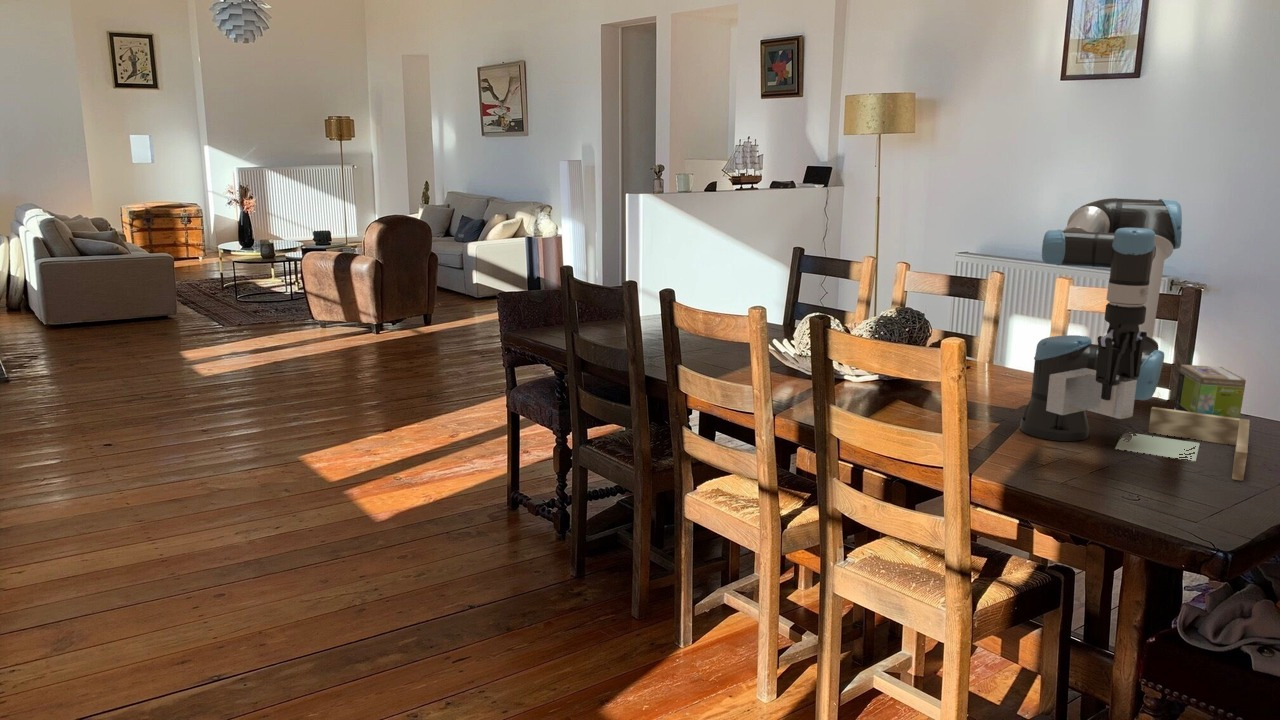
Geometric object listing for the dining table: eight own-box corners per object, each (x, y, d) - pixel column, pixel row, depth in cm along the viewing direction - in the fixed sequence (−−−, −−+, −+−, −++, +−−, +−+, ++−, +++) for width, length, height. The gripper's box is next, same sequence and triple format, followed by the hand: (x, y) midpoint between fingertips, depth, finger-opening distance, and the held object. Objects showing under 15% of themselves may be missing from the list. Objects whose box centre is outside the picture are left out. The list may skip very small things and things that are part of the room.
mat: (1114, 449, 219) (1114, 448, 219) (1123, 432, 233) (1123, 431, 232) (1195, 462, 211) (1195, 461, 211) (1199, 443, 224) (1199, 443, 224)
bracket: (1132, 416, 203) (1136, 379, 202) (1096, 424, 197) (1101, 387, 196) (1081, 403, 213) (1085, 367, 212) (1046, 410, 208) (1049, 374, 206)
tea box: (1238, 440, 227) (1247, 379, 224) (1191, 437, 229) (1200, 376, 226) (1214, 422, 242) (1223, 365, 239) (1171, 420, 244) (1178, 363, 241)
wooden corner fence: (1135, 463, 209) (1138, 436, 208) (1149, 430, 234) (1152, 406, 233) (1243, 480, 199) (1247, 453, 198) (1245, 444, 224) (1249, 419, 222)
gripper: (1117, 310, 192) (1104, 423, 198) (1168, 302, 201) (1154, 411, 206) (1083, 304, 198) (1071, 414, 204) (1134, 297, 207) (1121, 403, 212)
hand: (1113, 412), depth 205 cm, fingers closed on bracket, 4 cm apart
